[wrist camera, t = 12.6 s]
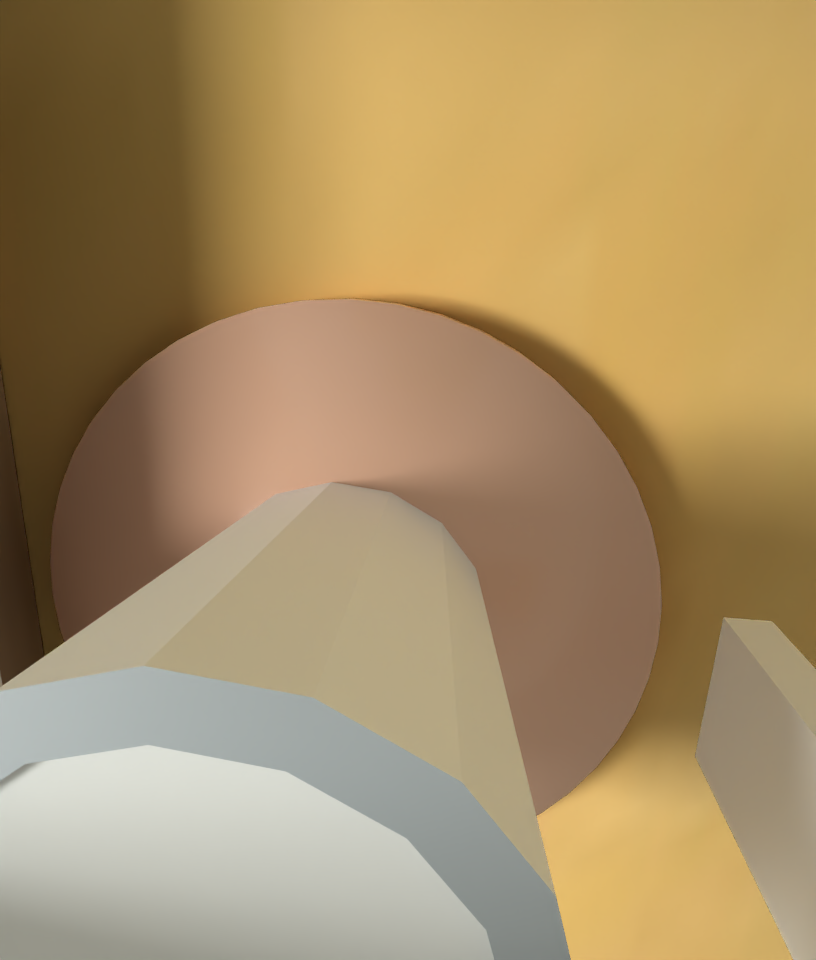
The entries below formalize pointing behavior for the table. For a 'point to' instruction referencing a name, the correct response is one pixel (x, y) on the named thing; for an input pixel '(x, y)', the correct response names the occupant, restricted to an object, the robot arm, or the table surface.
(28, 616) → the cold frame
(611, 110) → the table surface
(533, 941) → the shot glass
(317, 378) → the terracotta saucer
